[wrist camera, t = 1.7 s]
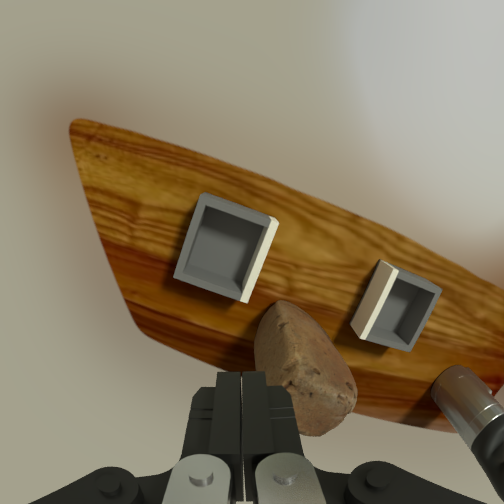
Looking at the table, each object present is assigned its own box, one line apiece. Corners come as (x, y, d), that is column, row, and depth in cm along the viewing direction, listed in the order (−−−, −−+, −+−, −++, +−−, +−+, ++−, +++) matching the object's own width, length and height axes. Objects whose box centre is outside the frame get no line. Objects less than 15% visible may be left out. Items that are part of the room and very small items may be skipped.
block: (247, 328, 47) (251, 419, 28) (277, 289, 46) (301, 367, 27) (303, 361, 49) (331, 451, 30) (333, 326, 48) (379, 408, 28)
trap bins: (426, 279, 46) (442, 289, 42) (397, 337, 49) (409, 352, 44) (205, 192, 42) (200, 194, 38) (180, 266, 45) (173, 277, 40)
